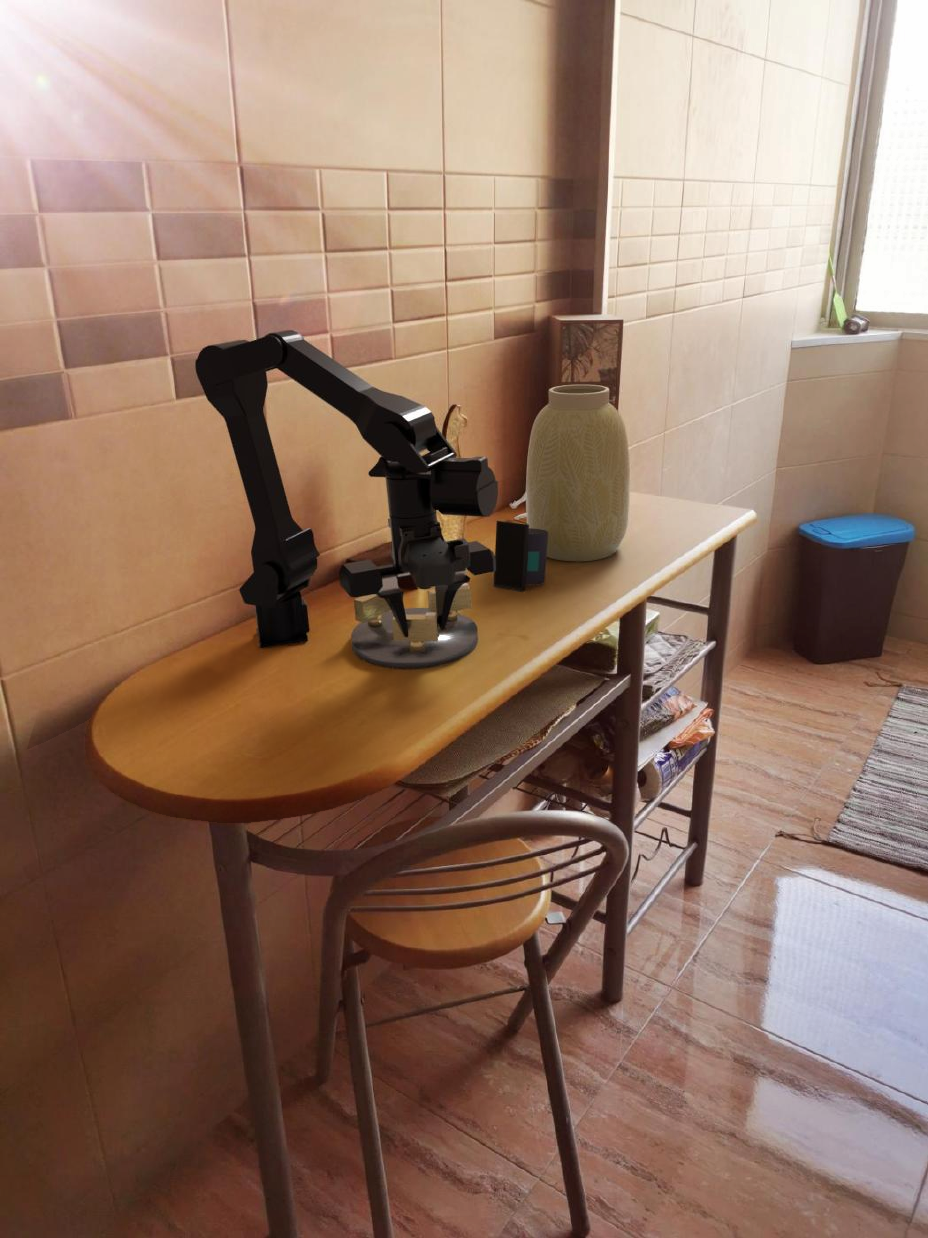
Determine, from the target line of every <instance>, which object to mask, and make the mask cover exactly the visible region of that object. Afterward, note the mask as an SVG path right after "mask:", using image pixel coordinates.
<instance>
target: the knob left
mask: <svg viewBox="0 0 928 1238" xmlns="http://www.w3.org/2000/svg"><path fill="white" fill-rule="evenodd" d="M353 603H354V604H353V605H354V606H353V607H354V616H355V621H357V622H360V623H361V622H363V623H365V622H367V621H368V627H371V628H378V627H381V626H382V625H383V624H382V614H384V613H387V612H389V611H391V609H390V607H389V605H388V604H387V602H386V600H385V599H384V598H379V597H378V596H377V595H376V594H373V595H367V596H362V597H357V598H356V597H355V598H354V599H353Z"/></svg>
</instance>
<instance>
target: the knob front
mask: <svg viewBox="0 0 928 1238" xmlns="http://www.w3.org/2000/svg"><path fill="white" fill-rule="evenodd" d="M406 619H407V624H408V637H404V635H403V634H402V632H401V630H400V628H399V626H398V623H397V621H396V619H395V617H393V619H392V620H393V634H394V641H409V650H410V651H411V652H422V651H424V650H425V641H438V638H439V626H438V614H436V612H427V613H426V614H411V615H406Z"/></svg>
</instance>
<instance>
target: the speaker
mask: <svg viewBox="0 0 928 1238" xmlns="http://www.w3.org/2000/svg"><path fill="white" fill-rule="evenodd" d="M547 543H548V532H547V531H546V530H541V529H533V528H529V524H527V523H520V522H512V521H506V520H505V521H503V520H496V528H495V548H494V555H495V560H496V571H494V572H493V588H499V589H504V590H511V591H517V592H523V593H524V592H526V586H538V585H539V586H540V585H543V584H545V583H546V572H547V571H546V569H547V558H548V557H547Z"/></svg>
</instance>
